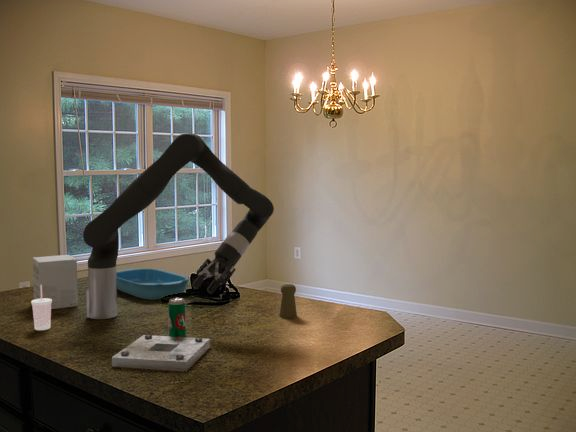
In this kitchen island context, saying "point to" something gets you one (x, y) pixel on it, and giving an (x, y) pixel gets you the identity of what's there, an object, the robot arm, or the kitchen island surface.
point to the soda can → (177, 317)
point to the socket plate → (161, 353)
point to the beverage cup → (42, 312)
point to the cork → (288, 301)
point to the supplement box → (56, 280)
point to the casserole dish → (150, 283)
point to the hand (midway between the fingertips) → (201, 289)
